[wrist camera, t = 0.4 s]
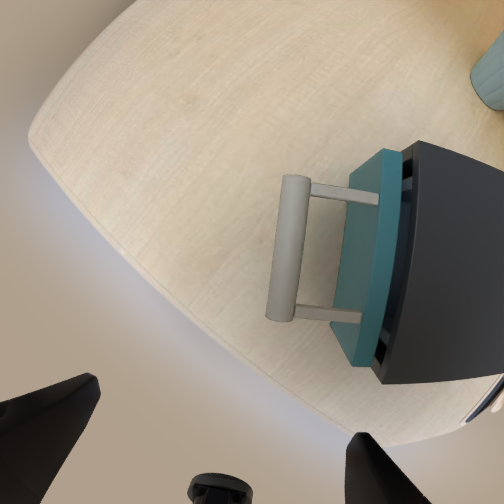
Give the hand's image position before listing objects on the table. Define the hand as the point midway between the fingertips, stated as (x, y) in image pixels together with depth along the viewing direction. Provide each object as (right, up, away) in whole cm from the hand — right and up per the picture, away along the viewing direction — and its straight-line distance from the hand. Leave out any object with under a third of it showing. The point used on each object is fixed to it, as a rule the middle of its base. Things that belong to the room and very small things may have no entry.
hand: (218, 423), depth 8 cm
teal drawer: (+12, +5, +12) cm, 18 cm away
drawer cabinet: (+17, +5, +12) cm, 21 cm away
